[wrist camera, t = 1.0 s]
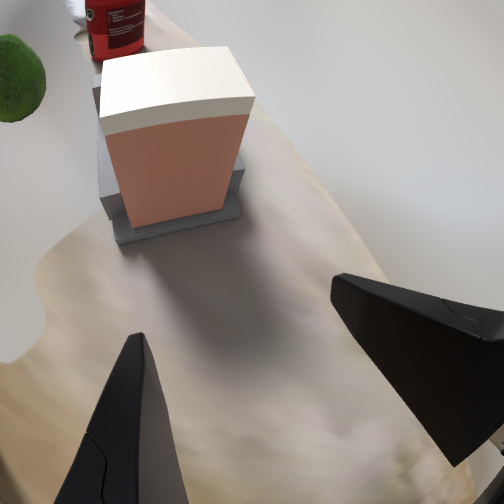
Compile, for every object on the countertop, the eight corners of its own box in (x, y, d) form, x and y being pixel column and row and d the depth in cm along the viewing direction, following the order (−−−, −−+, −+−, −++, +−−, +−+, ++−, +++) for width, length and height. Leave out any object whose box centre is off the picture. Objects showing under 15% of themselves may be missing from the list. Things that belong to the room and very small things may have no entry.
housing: (242, 217, 24) (264, 166, 17) (114, 246, 20) (89, 200, 14) (205, 111, 27) (214, 57, 21) (104, 129, 24) (93, 75, 17)
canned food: (105, 39, 29) (103, -20, 19) (152, 39, 31) (156, -24, 21) (80, 64, 27) (72, -2, 17) (131, 64, 28) (130, -9, 18)
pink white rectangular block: (221, 208, 22) (255, 96, 12) (132, 228, 20) (99, 117, 10) (206, 159, 23) (227, 46, 13) (125, 174, 21) (103, 60, 11)
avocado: (2, 110, 22) (-25, 42, 11) (52, 85, 24) (35, 10, 14) (-2, 150, 20) (-43, 74, 9) (54, 119, 23) (28, 32, 12)
